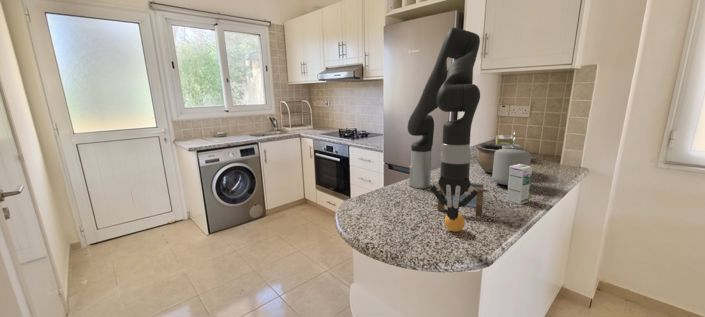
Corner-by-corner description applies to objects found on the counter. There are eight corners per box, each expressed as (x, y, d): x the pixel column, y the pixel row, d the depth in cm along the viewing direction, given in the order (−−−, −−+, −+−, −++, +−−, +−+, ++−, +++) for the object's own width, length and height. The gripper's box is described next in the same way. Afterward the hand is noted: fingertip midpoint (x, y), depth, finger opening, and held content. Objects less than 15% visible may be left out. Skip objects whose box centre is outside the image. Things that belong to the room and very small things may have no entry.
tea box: (494, 156, 196) (495, 134, 193) (511, 157, 192) (513, 135, 189) (495, 161, 182) (497, 137, 179) (513, 162, 179) (515, 138, 175)
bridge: (481, 216, 103) (483, 190, 101) (437, 210, 109) (438, 185, 107) (481, 213, 105) (483, 188, 103) (439, 207, 112) (440, 183, 110)
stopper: (449, 187, 136) (450, 181, 135) (450, 185, 137) (450, 180, 137) (482, 190, 130) (483, 185, 129) (483, 189, 132) (483, 183, 131)
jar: (494, 177, 148) (498, 128, 143) (528, 181, 141) (533, 129, 135) (489, 188, 132) (494, 133, 127) (527, 193, 125) (533, 135, 120)
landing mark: (442, 203, 116) (442, 202, 116) (447, 192, 129) (447, 191, 129) (480, 208, 110) (480, 207, 110) (482, 196, 123) (482, 195, 123)
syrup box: (520, 204, 113) (524, 168, 109) (506, 200, 118) (509, 165, 115) (529, 202, 115) (533, 166, 112) (515, 197, 120) (518, 163, 117)
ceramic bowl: (522, 170, 160) (524, 143, 157) (519, 180, 142) (522, 150, 139) (478, 166, 172) (480, 140, 169) (471, 175, 154) (473, 147, 151)
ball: (443, 233, 92) (443, 215, 90) (445, 225, 97) (446, 208, 96) (463, 236, 89) (464, 218, 88) (465, 228, 95) (466, 211, 93)
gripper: (482, 158, 80) (478, 217, 84) (433, 155, 86) (431, 211, 89) (481, 164, 74) (477, 228, 77) (428, 160, 79) (426, 220, 83)
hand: (452, 218), depth 83 cm, fingers closed
